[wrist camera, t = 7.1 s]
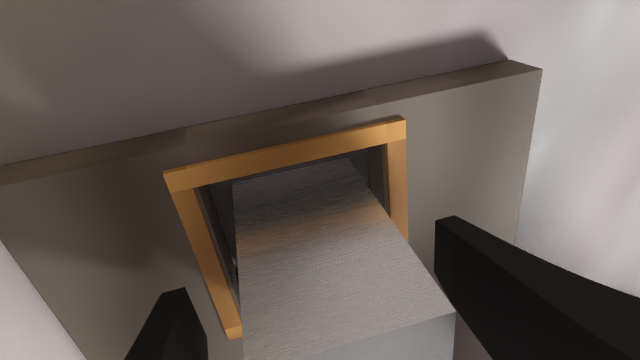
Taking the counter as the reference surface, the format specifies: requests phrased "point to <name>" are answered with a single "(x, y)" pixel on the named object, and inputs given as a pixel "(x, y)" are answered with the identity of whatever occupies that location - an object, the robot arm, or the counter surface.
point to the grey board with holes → (249, 158)
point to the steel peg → (331, 273)
